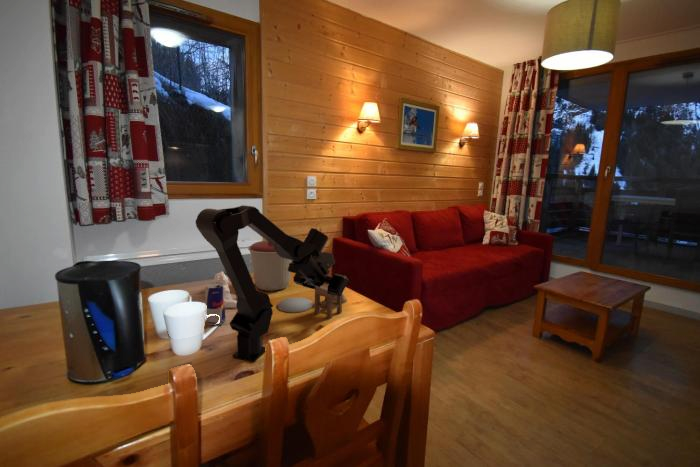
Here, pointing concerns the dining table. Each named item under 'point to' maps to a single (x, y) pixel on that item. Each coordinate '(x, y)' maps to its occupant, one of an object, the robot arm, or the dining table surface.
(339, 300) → the stool
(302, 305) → the mat
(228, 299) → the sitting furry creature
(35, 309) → the dining table surface
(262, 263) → the canister
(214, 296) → the energy drink
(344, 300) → the chocolate bunny
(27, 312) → the dining table surface
